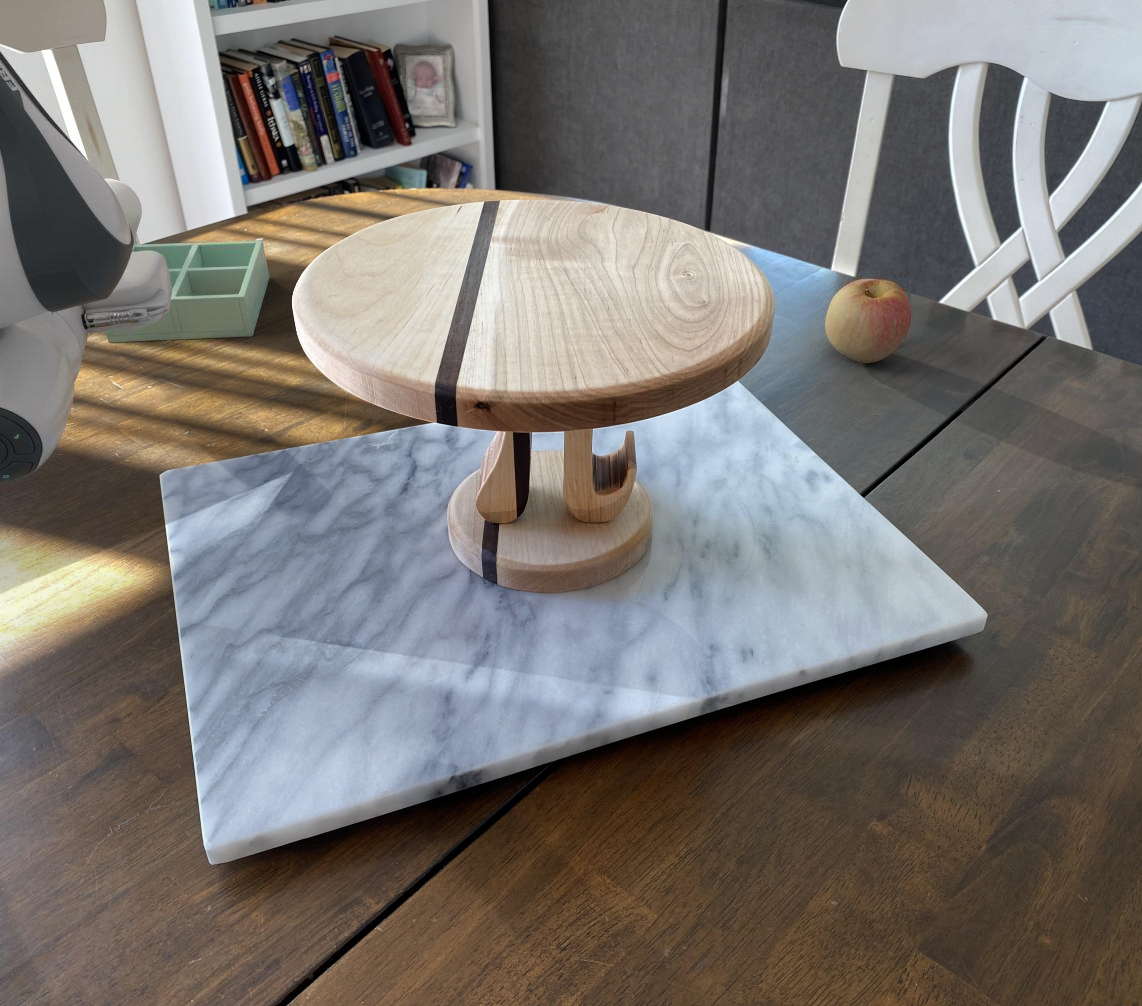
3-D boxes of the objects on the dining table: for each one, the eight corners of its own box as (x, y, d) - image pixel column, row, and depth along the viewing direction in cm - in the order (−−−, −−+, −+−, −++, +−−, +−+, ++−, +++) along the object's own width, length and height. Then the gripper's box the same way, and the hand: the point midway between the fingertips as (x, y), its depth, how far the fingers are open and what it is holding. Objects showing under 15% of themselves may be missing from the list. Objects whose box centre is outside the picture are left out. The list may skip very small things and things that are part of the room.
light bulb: (122, 284, 113) (96, 194, 106) (88, 270, 116) (60, 182, 109) (168, 265, 118) (145, 178, 111) (134, 252, 120) (110, 166, 114)
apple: (896, 339, 106) (913, 273, 101) (903, 378, 99) (923, 309, 94) (817, 331, 107) (831, 265, 102) (820, 370, 100) (835, 301, 95)
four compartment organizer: (108, 342, 102) (95, 302, 99) (140, 282, 114) (129, 244, 111) (252, 336, 103) (244, 296, 101) (269, 277, 115) (262, 240, 112)
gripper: (158, 276, 69) (166, 210, 79) (-158, 307, 64) (-105, 231, 75) (178, 352, 73) (184, 279, 83) (-118, 386, 68) (-73, 304, 79)
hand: (45, 257), depth 79 cm, fingers closed on soda can, 5 cm apart
